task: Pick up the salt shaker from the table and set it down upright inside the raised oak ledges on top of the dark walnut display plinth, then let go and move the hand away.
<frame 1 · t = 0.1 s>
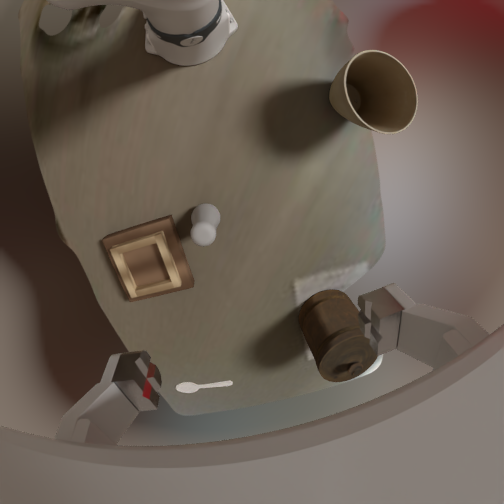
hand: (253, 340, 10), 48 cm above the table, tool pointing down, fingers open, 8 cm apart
display plinth: (149, 258, 58), on the table
wooden container: (325, 312, 70), on the table
salt shaker: (206, 214, 56), on the table
plant pot: (344, 99, 49), on the table
spoon: (203, 384, 77), on the table
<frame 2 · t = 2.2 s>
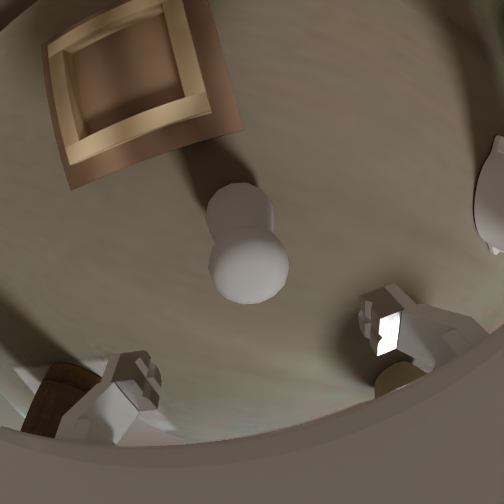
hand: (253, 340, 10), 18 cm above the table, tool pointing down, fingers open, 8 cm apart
display plinth: (135, 78, 20), on the table
wooden container: (85, 391, 35), on the table
salt shaker: (238, 208, 26), on the table
plant pot: (391, 375, 40), on the table
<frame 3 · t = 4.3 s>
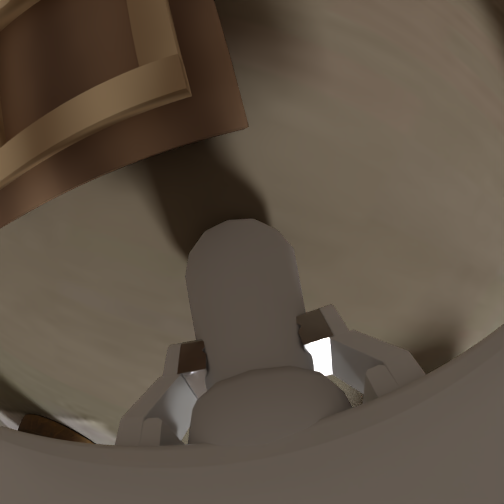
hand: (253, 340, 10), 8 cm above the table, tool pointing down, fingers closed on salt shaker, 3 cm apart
display plinth: (80, 55, 10), on the table
wooden container: (65, 441, 26), on the table
salt shaker: (238, 253, 17), on the table, touching gripper
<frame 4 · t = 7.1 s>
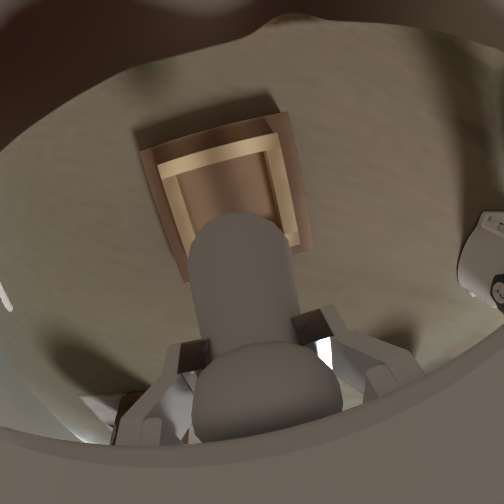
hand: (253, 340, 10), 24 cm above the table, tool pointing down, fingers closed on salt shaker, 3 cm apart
display plinth: (230, 195, 32), on the table
wooden container: (154, 411, 47), on the table
salt shaker: (236, 244, 18), point 15 cm above the table, touching gripper
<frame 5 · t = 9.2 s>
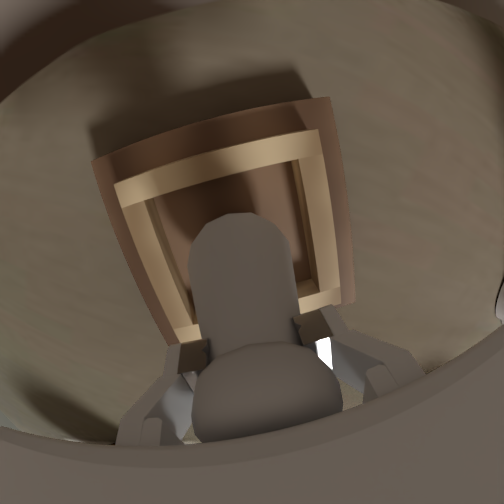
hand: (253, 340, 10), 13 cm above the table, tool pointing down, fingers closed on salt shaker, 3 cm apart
display plinth: (235, 225, 21), on the table
salt shaker: (237, 245, 18), point 4 cm above the table, touching gripper
when the fingers open (12 cm above the table, at t = 10.2 s): salt shaker stays where it is, resting on display plinth.
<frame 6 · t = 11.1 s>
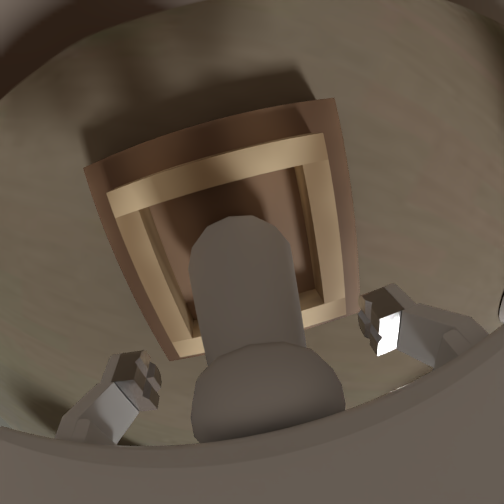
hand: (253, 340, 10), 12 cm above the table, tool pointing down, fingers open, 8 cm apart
display plinth: (235, 233, 20), on the table
salt shaker: (238, 248, 18), point 3 cm above the table, touching display plinth
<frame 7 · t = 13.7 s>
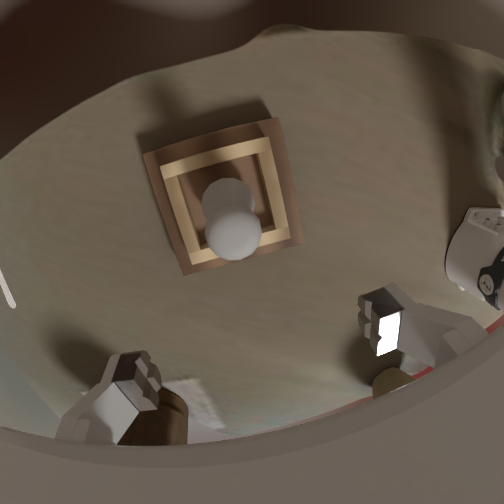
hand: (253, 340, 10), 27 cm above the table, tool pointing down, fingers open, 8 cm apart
display plinth: (226, 194, 34), on the table
wooden container: (154, 405, 49), on the table
salt shaker: (227, 199, 32), point 3 cm above the table, touching display plinth
plant pot: (384, 377, 55), on the table
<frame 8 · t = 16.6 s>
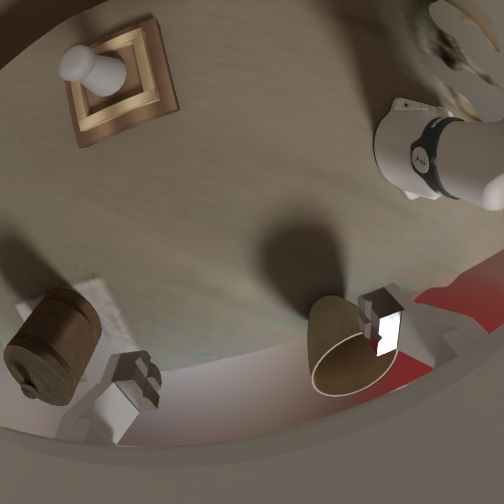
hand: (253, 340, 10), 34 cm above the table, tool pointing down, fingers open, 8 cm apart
display plinth: (119, 82, 32), on the table
wooden container: (72, 318, 47), on the table
salt shaker: (113, 80, 30), point 3 cm above the table, touching display plinth
plant pot: (325, 310, 52), on the table
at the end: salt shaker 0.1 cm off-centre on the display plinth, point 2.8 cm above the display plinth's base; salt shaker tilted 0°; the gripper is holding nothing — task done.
